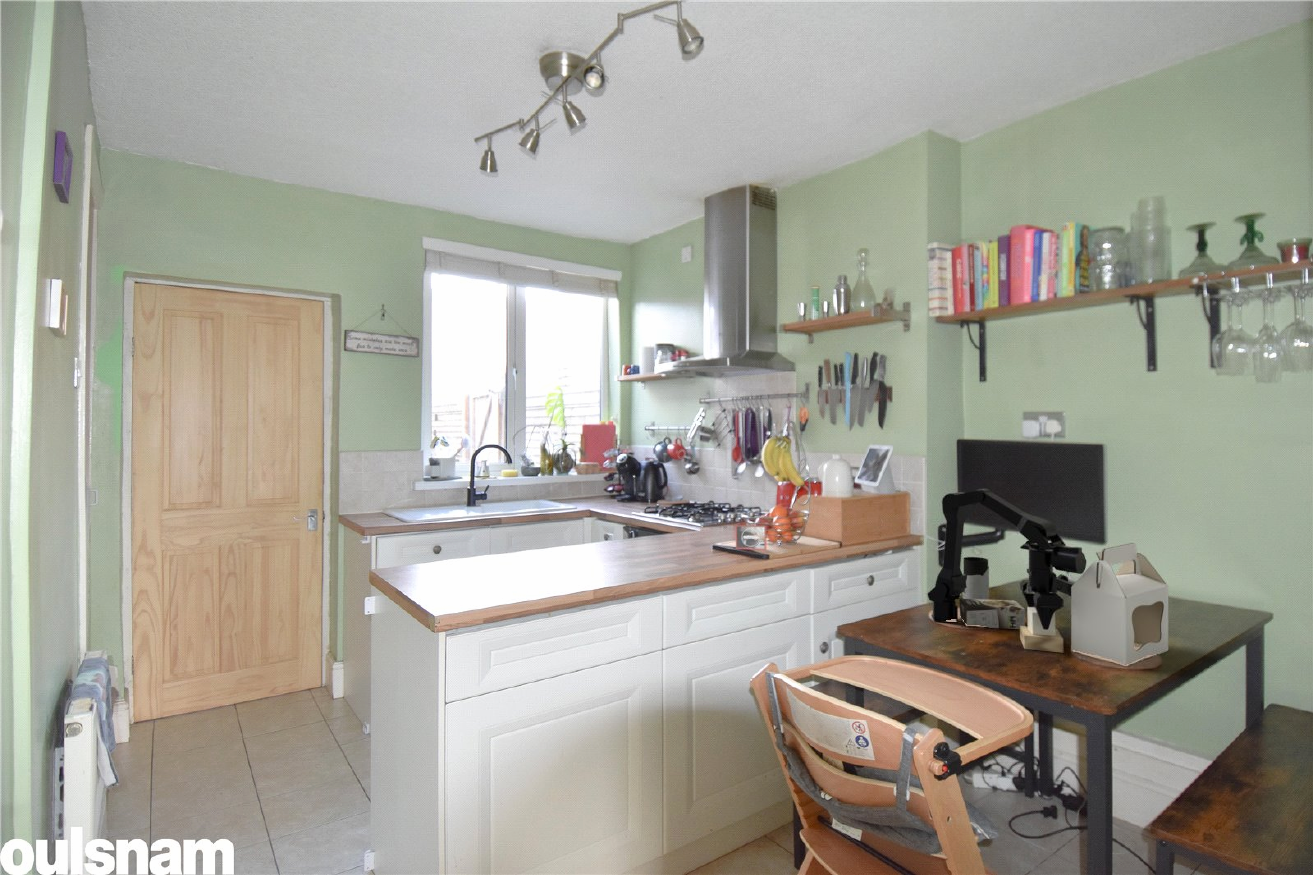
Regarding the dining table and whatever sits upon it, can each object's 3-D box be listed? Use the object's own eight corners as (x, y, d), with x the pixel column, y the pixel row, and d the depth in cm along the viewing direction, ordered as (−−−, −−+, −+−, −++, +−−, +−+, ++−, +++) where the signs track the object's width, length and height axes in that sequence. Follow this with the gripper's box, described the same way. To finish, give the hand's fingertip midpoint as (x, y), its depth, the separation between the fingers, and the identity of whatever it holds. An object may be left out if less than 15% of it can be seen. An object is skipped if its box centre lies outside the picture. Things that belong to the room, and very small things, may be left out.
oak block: (1024, 650, 179) (1024, 635, 179) (1020, 639, 187) (1020, 625, 187) (1063, 654, 176) (1063, 639, 176) (1056, 643, 184) (1056, 629, 184)
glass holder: (991, 608, 218) (991, 562, 217) (944, 604, 223) (943, 559, 223) (989, 601, 226) (989, 557, 225) (943, 597, 231) (943, 554, 231)
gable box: (1114, 637, 187) (1114, 538, 187) (1169, 650, 176) (1169, 545, 175) (1070, 652, 176) (1070, 546, 176) (1125, 667, 165) (1125, 554, 164)
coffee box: (1025, 608, 195) (966, 606, 198) (1025, 630, 195) (966, 627, 198) (1015, 599, 204) (958, 597, 207) (1015, 620, 204) (958, 618, 207)
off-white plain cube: (1032, 634, 180) (1032, 612, 180) (1027, 628, 185) (1027, 607, 185) (1055, 635, 178) (1055, 613, 178) (1049, 629, 183) (1049, 608, 183)
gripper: (1086, 576, 170) (1086, 637, 170) (1063, 561, 188) (1063, 616, 188) (1037, 574, 173) (1037, 634, 173) (1019, 559, 191) (1019, 614, 191)
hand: (1040, 624), depth 182 cm, fingers open, 9 cm apart
